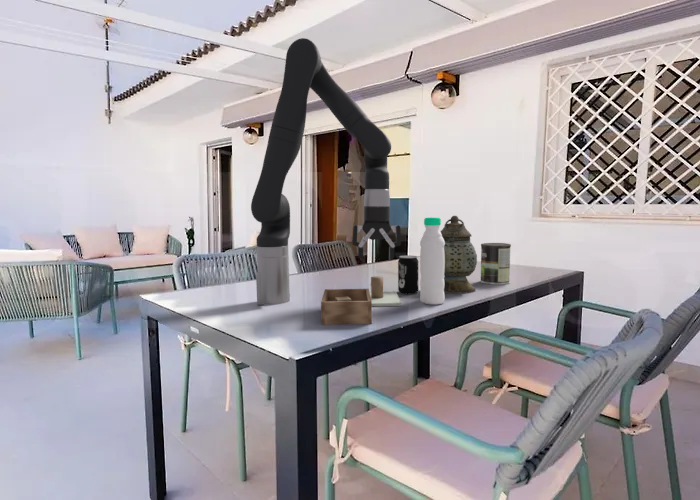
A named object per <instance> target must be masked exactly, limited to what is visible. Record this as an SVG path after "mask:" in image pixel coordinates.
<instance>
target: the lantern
mask: <svg viewBox="0 0 700 500" xmlns="http://www.w3.org/2000/svg"><path fill="white" fill-rule="evenodd" d="M449 222H450V223H449ZM459 222H460V223H459ZM443 226H444V227H443V228H442V229H441V230H439V231H440V232H441V234H442V237H443V239H444V241H445V246H444V254H445V270H444V283H445V285H444V294H456V295H461V294H473V293H474V292H476V290H477V289H476V287H474V286H473V285H472V284H471V283H470V281H468V279H467V277H470V276H471V275H472V274H473V273H474V271H475V270H476V266H477V263H478V254H477V252H476V249H475V246H474V245H473V244H472V242H471V237H472V234H471V232H470V231H469V230H468V229H467V228H466V226H465V222H464V221H463V220H461V219H460V218H459V216H457V215H453V216H451V217H450V218H449V219H447V221H446V222H445V224H444V225H443Z"/></svg>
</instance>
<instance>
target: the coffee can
mask: <svg viewBox="0 0 700 500" xmlns="http://www.w3.org/2000/svg"><path fill="white" fill-rule="evenodd" d="M480 247H481V248H480V249H481V251H480V282H481V283H482V284H485V285H491V284H492V286H493V285H494V286H495V285H496V286H497V285H498V286H499V285H501V286H502V285H503V286H504V285H509V284H510V283H511V282H510V281H511V280H510V272H511V271H510V270H511V247H512V245H511V244H510V243H505V242H504V243H503V242H486V243H485V242H484V243H481V244H480Z"/></svg>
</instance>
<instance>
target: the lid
mask: <svg viewBox="0 0 700 500" xmlns="http://www.w3.org/2000/svg"><path fill="white" fill-rule="evenodd" d="M369 292H370V297H371V301H372V307H402V306H403V305H402V301H401V299H400V297H399V295H398V294H397V292H396V290H395V291H384V277H383V276H379V275H378V276H371V277H370V291H369Z"/></svg>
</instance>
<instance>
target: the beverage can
mask: <svg viewBox="0 0 700 500" xmlns="http://www.w3.org/2000/svg"><path fill="white" fill-rule="evenodd" d="M397 269H398V270H397V271H398V272H397V276H398V277H397V278H398V279H397V282H398V283H397V284H398V285H397V290H398V292H399V293H400V294H403V295H416V294H417V293H418V292H419V259H418V256H417V255H411V254H410V255H399V259H398V262H397Z"/></svg>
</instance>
